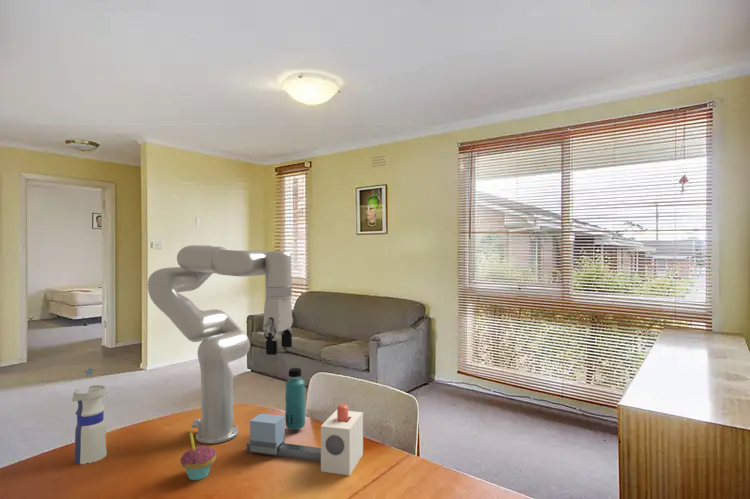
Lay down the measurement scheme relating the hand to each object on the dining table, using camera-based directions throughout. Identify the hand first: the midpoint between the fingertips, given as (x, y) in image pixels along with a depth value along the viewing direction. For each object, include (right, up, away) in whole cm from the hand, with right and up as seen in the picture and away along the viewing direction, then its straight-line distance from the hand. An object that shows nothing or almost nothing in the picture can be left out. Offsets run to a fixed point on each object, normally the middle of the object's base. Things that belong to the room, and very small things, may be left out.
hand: (279, 350), depth 126 cm
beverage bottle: (+2, -29, +13) cm, 32 cm away
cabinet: (+19, -29, -8) cm, 36 cm away
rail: (+3, -29, -4) cm, 29 cm away
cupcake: (-18, -29, -15) cm, 37 cm away
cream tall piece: (-52, -29, -6) cm, 60 cm away
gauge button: (+19, -20, -8) cm, 29 cm away
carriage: (-3, -28, -2) cm, 28 cm away
